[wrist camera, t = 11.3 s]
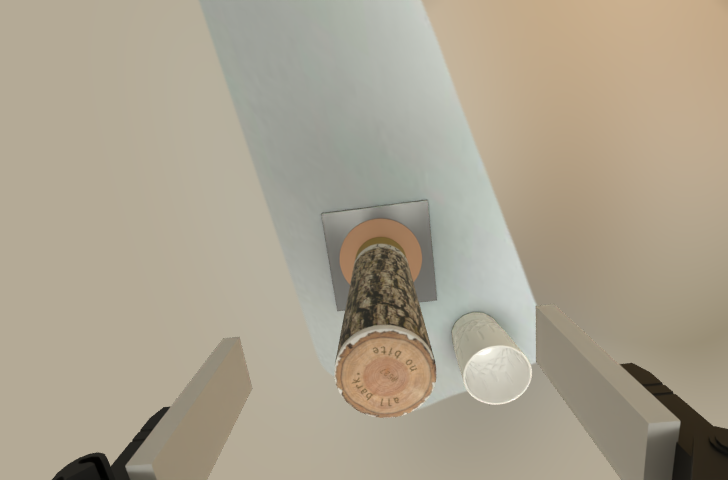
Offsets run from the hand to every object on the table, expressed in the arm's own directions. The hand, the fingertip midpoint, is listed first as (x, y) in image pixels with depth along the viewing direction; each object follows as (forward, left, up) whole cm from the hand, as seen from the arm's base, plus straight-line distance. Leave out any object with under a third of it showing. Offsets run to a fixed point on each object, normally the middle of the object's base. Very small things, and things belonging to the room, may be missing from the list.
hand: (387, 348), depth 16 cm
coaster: (+6, -1, -33) cm, 33 cm away
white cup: (+19, +11, -33) cm, 40 cm away
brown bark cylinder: (+6, -1, -32) cm, 32 cm away
